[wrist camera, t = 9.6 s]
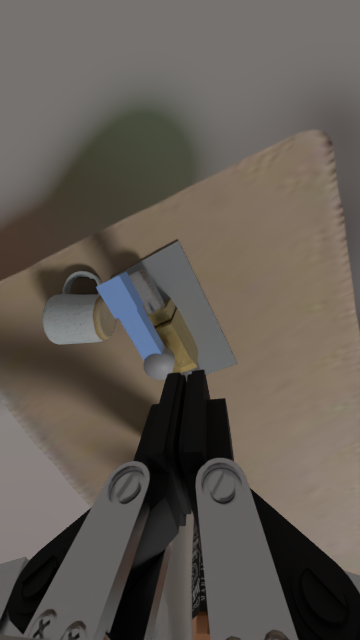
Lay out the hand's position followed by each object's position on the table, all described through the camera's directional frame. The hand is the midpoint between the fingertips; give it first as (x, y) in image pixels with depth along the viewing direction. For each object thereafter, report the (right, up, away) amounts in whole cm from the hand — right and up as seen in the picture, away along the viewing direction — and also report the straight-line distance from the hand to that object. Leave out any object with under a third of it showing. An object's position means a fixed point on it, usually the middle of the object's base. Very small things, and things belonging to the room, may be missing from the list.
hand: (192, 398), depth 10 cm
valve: (-2, +3, +26) cm, 26 cm away
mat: (-1, +3, +26) cm, 26 cm away
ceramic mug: (-15, +6, +27) cm, 31 cm away
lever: (-5, +3, +17) cm, 18 cm away
